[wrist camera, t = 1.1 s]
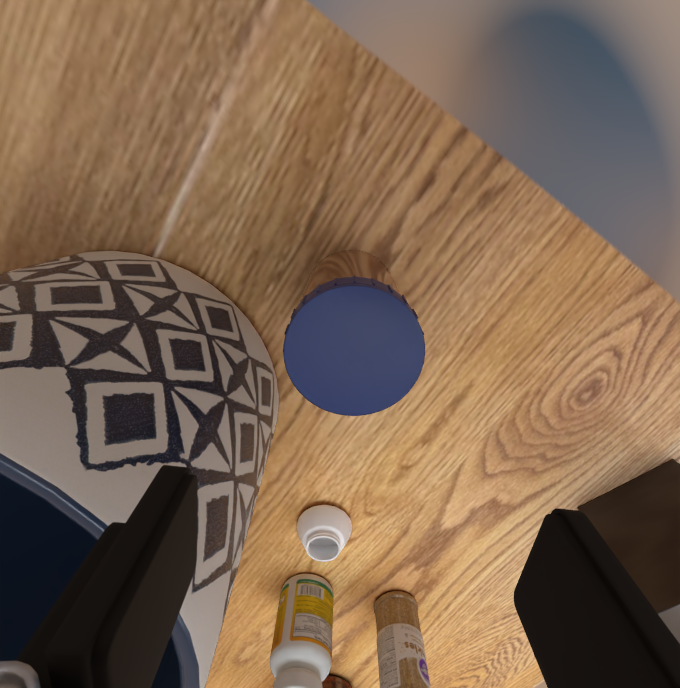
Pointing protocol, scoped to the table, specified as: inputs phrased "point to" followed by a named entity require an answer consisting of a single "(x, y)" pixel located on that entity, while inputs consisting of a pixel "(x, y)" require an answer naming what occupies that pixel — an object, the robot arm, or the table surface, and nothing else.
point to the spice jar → (400, 642)
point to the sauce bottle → (335, 682)
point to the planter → (125, 431)
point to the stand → (646, 535)
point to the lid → (354, 346)
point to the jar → (348, 269)
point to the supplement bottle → (303, 633)
